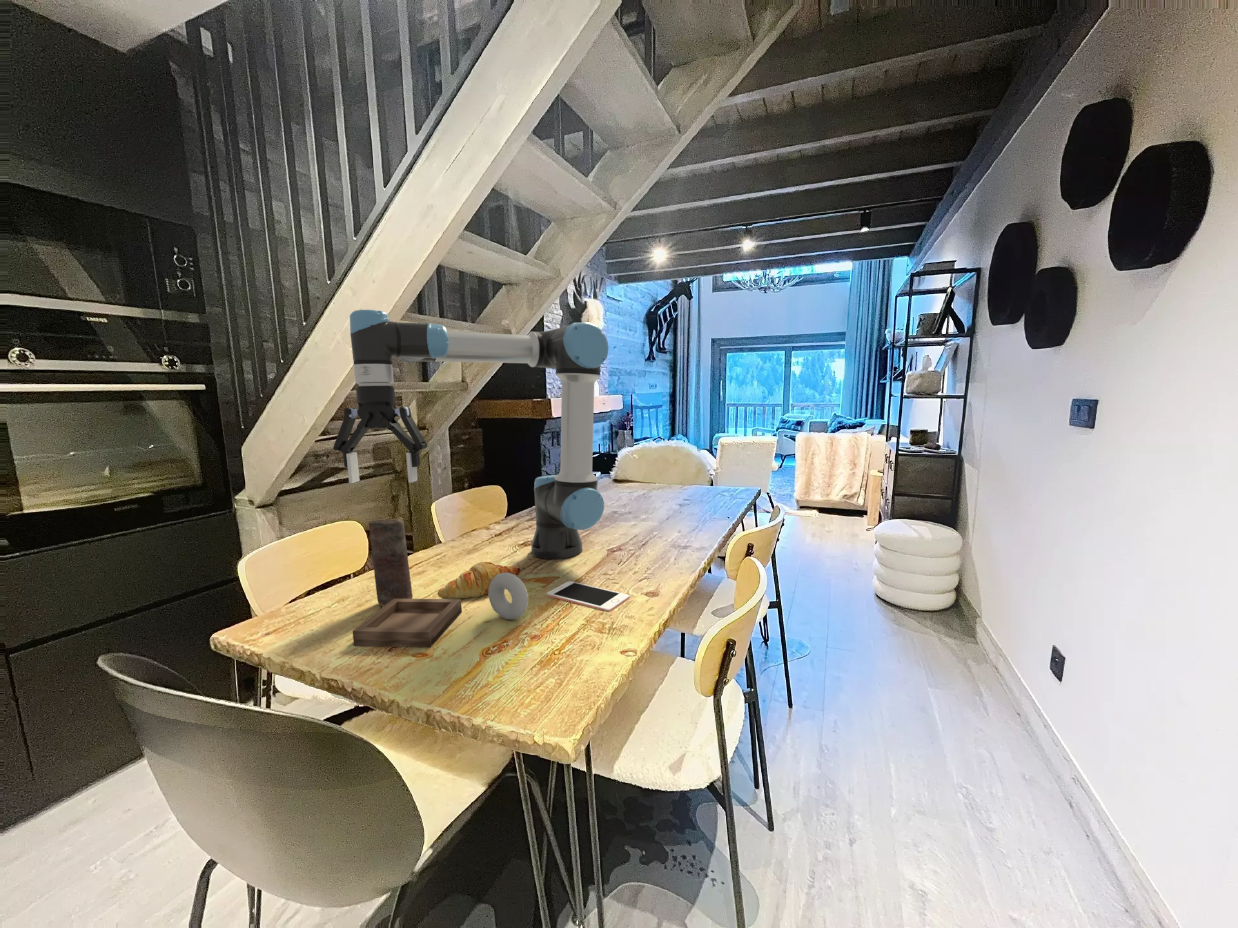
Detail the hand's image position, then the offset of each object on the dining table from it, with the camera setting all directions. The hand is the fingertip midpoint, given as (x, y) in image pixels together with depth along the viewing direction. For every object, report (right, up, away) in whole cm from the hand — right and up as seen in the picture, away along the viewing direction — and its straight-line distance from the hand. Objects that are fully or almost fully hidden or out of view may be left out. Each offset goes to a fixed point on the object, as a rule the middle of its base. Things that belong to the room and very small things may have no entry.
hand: (383, 482), depth 112 cm
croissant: (+18, -27, +12) cm, 35 cm away
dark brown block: (+1, -28, +4) cm, 29 cm away
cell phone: (+45, -27, +5) cm, 53 cm away
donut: (+29, -29, -5) cm, 41 cm away
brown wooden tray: (+10, -30, -9) cm, 32 cm away
